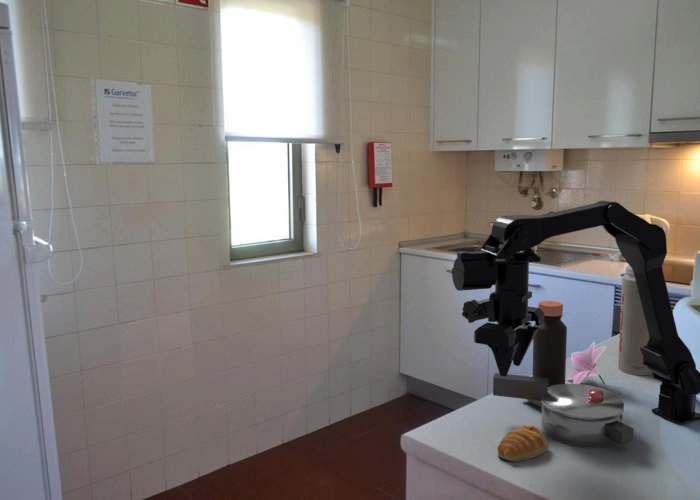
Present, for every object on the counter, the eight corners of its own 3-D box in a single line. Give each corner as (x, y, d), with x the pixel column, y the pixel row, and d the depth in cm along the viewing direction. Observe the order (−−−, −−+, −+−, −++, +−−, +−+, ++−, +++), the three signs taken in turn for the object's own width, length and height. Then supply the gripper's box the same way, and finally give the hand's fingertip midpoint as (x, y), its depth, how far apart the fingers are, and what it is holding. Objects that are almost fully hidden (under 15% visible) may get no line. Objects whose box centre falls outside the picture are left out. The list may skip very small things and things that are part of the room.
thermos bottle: (614, 371, 140) (619, 254, 135) (622, 361, 146) (627, 249, 142) (652, 378, 135) (658, 257, 131) (657, 367, 141) (664, 252, 137)
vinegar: (542, 384, 133) (544, 298, 130) (570, 393, 128) (573, 303, 125) (525, 393, 129) (527, 303, 125) (554, 402, 124) (557, 309, 120)
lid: (498, 380, 122) (498, 363, 122) (620, 393, 114) (621, 374, 114) (489, 408, 109) (489, 389, 109) (627, 425, 101) (628, 404, 100)
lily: (574, 375, 141) (556, 343, 139) (624, 363, 135) (607, 330, 133) (570, 408, 131) (552, 375, 129) (625, 398, 125) (606, 362, 123)
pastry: (519, 469, 98) (520, 448, 98) (486, 455, 103) (486, 434, 103) (551, 451, 104) (551, 430, 103) (518, 438, 109) (518, 418, 109)
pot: (548, 393, 128) (548, 371, 127) (655, 445, 104) (656, 418, 104) (496, 405, 123) (496, 382, 122) (596, 463, 99) (597, 435, 98)
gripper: (490, 273, 117) (489, 349, 120) (446, 291, 103) (446, 377, 105) (546, 279, 111) (544, 359, 113) (508, 299, 96) (506, 391, 98)
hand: (510, 370), depth 108 cm, fingers open, 6 cm apart
